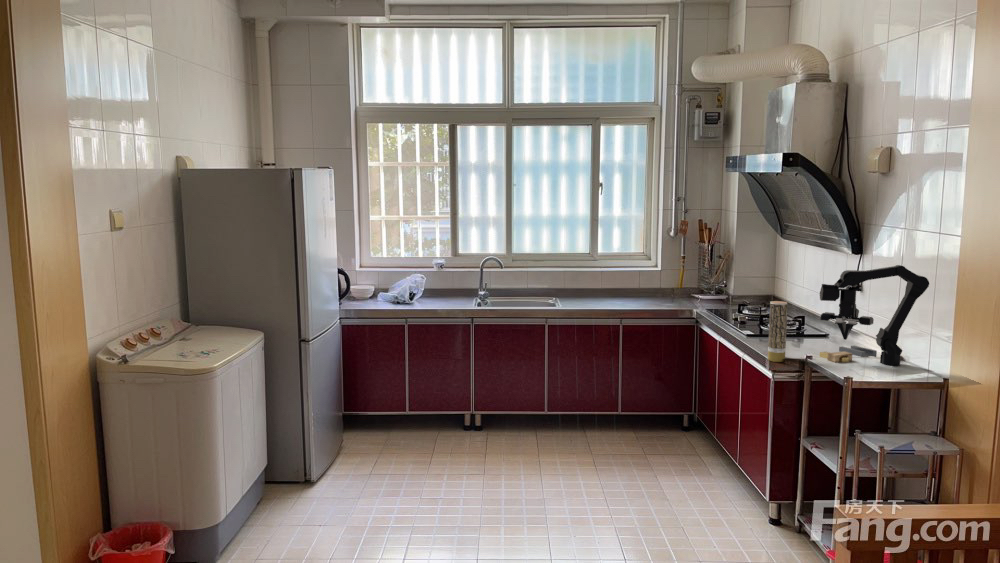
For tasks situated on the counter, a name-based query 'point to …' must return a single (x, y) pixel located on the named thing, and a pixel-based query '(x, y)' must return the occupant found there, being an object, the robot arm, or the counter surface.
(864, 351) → the grey u channel block
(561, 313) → the counter surface
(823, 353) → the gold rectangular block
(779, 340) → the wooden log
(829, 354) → the light wood notched block
